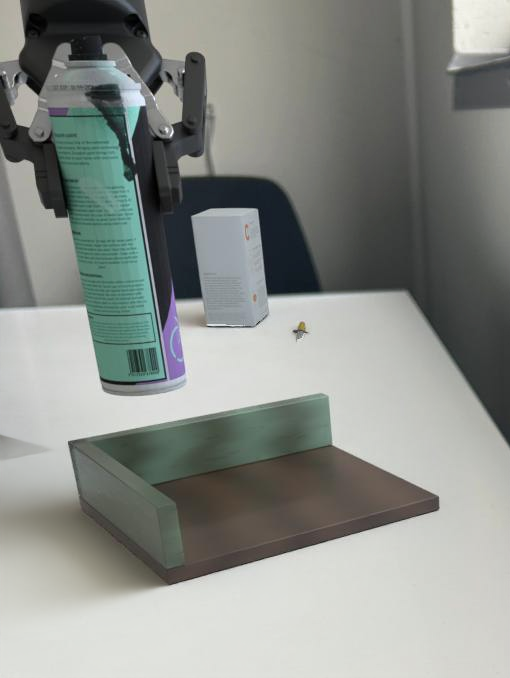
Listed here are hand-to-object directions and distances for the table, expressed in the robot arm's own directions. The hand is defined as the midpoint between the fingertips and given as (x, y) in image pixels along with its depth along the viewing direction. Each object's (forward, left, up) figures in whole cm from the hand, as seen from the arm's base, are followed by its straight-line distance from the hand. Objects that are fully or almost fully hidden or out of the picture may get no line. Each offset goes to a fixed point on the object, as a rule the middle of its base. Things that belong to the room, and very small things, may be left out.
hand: (114, 205), depth 61 cm
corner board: (+6, -2, -20) cm, 21 cm away
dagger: (+36, +47, -21) cm, 63 cm away
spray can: (+1, +2, -11) cm, 12 cm away
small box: (+34, +60, -20) cm, 72 cm away
